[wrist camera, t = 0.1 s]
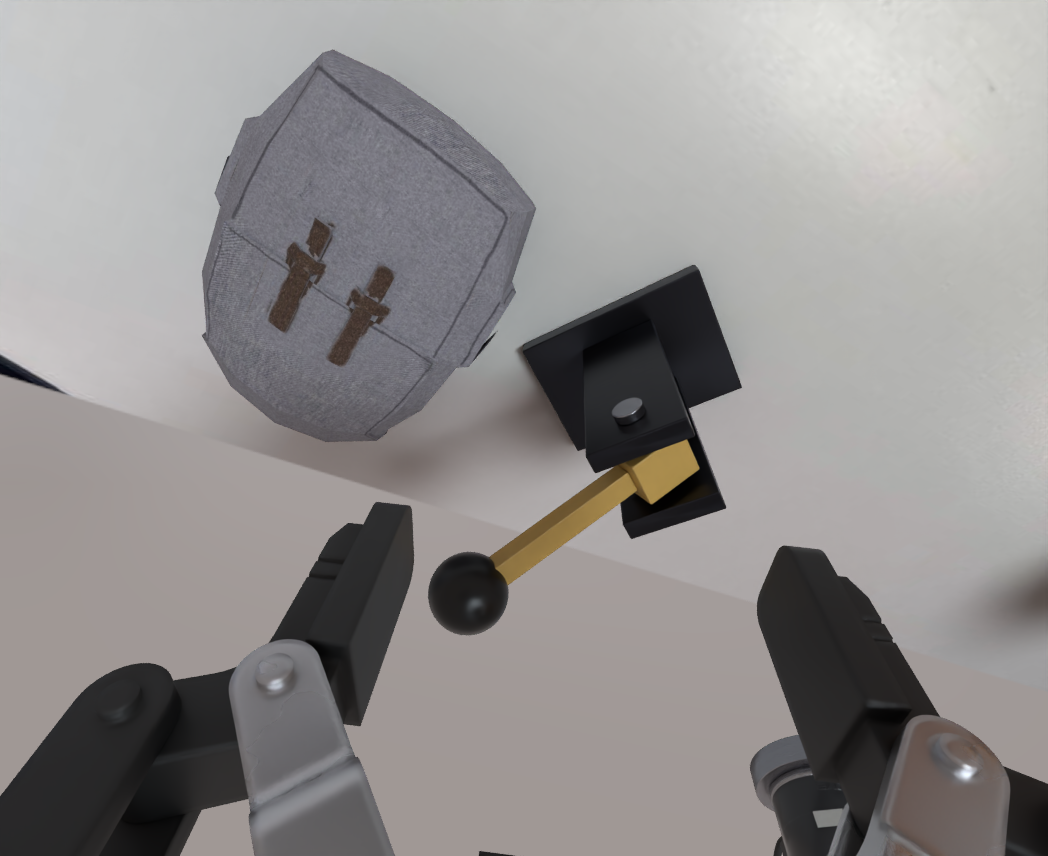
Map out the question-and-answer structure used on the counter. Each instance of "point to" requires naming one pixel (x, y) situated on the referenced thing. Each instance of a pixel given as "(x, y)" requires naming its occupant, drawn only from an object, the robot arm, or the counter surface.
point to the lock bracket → (641, 387)
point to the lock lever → (546, 540)
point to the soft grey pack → (356, 253)
